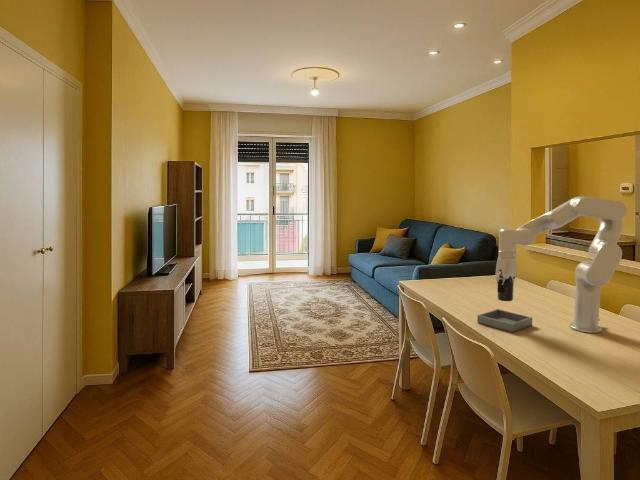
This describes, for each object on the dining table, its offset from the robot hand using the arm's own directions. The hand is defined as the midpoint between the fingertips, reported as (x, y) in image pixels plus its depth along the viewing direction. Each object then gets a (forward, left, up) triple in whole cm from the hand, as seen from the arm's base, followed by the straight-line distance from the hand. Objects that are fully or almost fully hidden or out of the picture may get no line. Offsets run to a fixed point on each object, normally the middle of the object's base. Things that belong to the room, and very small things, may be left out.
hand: (505, 291), depth 194 cm
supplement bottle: (0, 0, -5) cm, 5 cm away
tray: (0, 0, -17) cm, 17 cm away
